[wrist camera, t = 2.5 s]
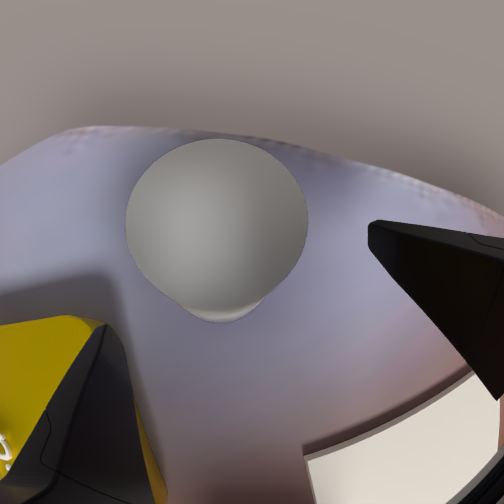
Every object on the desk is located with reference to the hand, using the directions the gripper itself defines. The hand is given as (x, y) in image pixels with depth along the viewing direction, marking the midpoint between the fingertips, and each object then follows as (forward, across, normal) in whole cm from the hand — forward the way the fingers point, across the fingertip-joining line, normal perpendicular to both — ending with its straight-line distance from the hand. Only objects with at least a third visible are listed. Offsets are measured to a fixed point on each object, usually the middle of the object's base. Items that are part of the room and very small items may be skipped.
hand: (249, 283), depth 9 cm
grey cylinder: (+9, 0, +5) cm, 10 cm away
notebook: (-7, -9, +21) cm, 24 cm away
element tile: (+5, +16, +10) cm, 20 cm away
